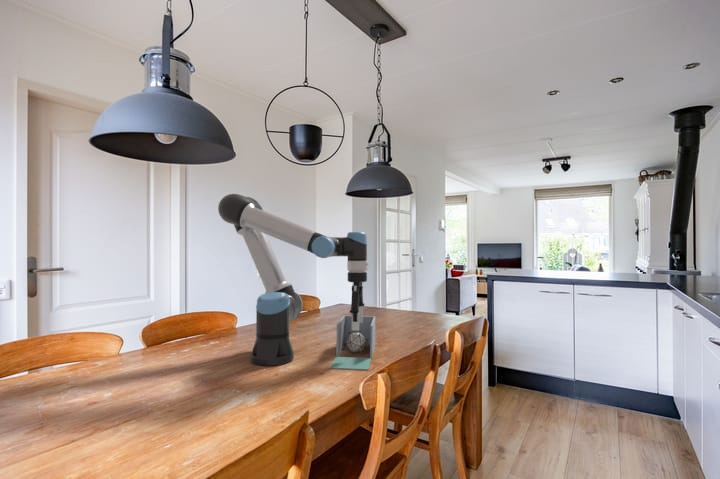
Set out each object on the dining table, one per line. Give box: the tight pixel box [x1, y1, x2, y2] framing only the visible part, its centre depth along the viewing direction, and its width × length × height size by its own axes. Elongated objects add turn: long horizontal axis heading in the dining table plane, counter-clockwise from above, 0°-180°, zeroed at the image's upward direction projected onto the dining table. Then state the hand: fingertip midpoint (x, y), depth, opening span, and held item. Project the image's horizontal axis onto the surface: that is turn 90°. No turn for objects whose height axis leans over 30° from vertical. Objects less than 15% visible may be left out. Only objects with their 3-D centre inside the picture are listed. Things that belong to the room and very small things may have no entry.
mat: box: [329, 356, 372, 371], centre depth 130 cm, size 13×12×1 cm
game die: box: [344, 331, 368, 355], centre depth 144 cm, size 9×8×10 cm
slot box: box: [335, 314, 376, 359], centre depth 147 cm, size 13×18×12 cm
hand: (357, 326), depth 144 cm, fingers open, 13 cm apart
